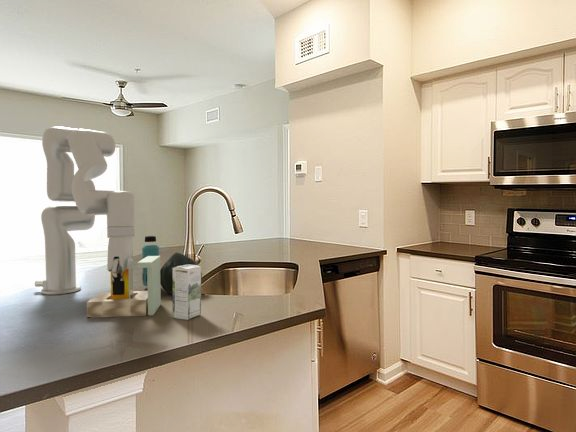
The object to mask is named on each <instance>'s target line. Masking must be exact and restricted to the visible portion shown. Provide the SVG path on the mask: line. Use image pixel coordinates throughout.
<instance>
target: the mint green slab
mask: <svg viewBox="0 0 576 432" xmlns="http://www.w3.org/2000/svg"><path fill="white" fill-rule="evenodd" d="M161 259H162V255H159V256H147V257H145V258H144V259H142V258H141V260H139V261H137V262H136V269H137V268H138V269H140V268H141V269H143V268H147V285H148V286H147V291H148V313H147V315H148V316H154V314H155V313H156V312H157V311H158V309H159V307H160V306H161V305H162V301H161V300H162V296H161V295H162V292H161V288H162V286H161V284H160V270H161V261H162V260H161Z"/></svg>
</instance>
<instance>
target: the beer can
mask: <svg viewBox="0 0 576 432" xmlns="http://www.w3.org/2000/svg"><path fill="white" fill-rule="evenodd" d="M133 262H134V261H132V258H131V257H129V259H128V263H127V269H126V270H125V271H124V277H123V281H124V282H125V294H124V295H113V283H112V277H113V276H112V271H111V272H110V292H111V299H132V298H133V291H134V283H133V282H134V280H133V279H134V278H133V277H134V274H133V272H134V271H133V270H134V269H133V265H134V264H133ZM112 267H113V266H112ZM121 269H122V268H118V270H121ZM119 274H120V276H121V273H119Z"/></svg>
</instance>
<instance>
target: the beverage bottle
mask: <svg viewBox="0 0 576 432" xmlns="http://www.w3.org/2000/svg"><path fill="white" fill-rule="evenodd" d="M144 242H145V243H154V242H157V237H156V235H155V236H154V235H147V236H144ZM141 253H142V255H141V260H142V259H144V258H145V257H147V256H160V246H158V245H157V244H145V245H143V246H142V248H141ZM141 270H142V273H141V274H142V275H141V276H142V277H141V280H142V285H143V286H144V287H148V285H147V268H141Z"/></svg>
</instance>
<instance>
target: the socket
mask: <svg viewBox="0 0 576 432" xmlns="http://www.w3.org/2000/svg"><path fill="white" fill-rule="evenodd" d="M147 315H148V290H137V291H136V290H133V298H132V299H111V291H107V292H105V291H103V292H102V291H101V292H100V293H98V294H97V295H95V296H93V297H92V298H90V299H89V300H88V301H86V318H87V317H95V318H113V317H117V318H119V317H134V316H135V317H137V316H138V317H140V316H142V317H143V316H147Z"/></svg>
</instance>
